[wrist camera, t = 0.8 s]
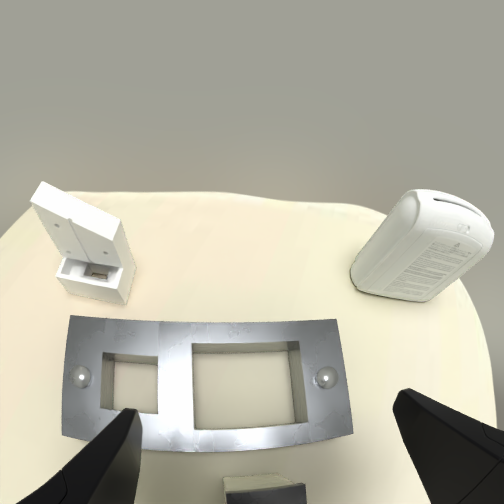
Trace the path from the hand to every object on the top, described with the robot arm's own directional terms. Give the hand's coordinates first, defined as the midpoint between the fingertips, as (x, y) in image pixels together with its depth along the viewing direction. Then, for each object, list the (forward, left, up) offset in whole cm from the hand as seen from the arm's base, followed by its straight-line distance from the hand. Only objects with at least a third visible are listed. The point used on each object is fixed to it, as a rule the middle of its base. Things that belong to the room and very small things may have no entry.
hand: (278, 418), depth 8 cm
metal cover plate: (+2, +2, -13) cm, 13 cm away
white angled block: (+11, +11, -13) cm, 21 cm away
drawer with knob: (-7, -1, -13) cm, 15 cm away
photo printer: (+11, -17, -13) cm, 24 cm away
